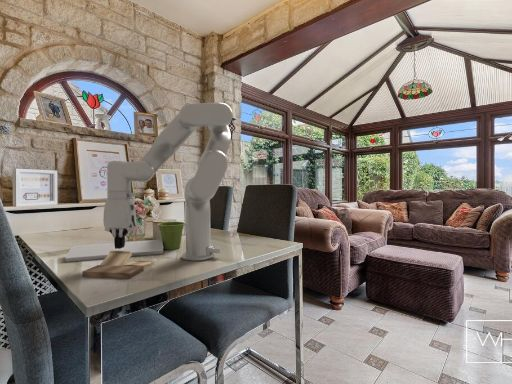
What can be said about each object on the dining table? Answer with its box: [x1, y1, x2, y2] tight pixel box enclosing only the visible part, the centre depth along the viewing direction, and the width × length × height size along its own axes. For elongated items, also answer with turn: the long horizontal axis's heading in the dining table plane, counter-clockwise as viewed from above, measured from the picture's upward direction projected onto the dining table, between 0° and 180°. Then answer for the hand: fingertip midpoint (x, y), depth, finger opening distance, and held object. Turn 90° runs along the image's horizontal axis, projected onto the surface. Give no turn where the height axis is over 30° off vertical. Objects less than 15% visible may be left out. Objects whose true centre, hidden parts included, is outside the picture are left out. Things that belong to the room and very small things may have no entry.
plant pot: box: [157, 221, 186, 251], centre depth 122 cm, size 12×12×11 cm
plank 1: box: [99, 251, 132, 266], centre depth 94 cm, size 8×7×2 cm
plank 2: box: [123, 260, 155, 271], centre depth 94 cm, size 8×7×2 cm
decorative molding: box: [64, 239, 164, 263], centre depth 111 cm, size 34×5×10 cm
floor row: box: [82, 264, 145, 279], centre depth 87 cm, size 16×8×2 cm, turn 83°
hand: (119, 247), depth 96 cm, fingers closed
